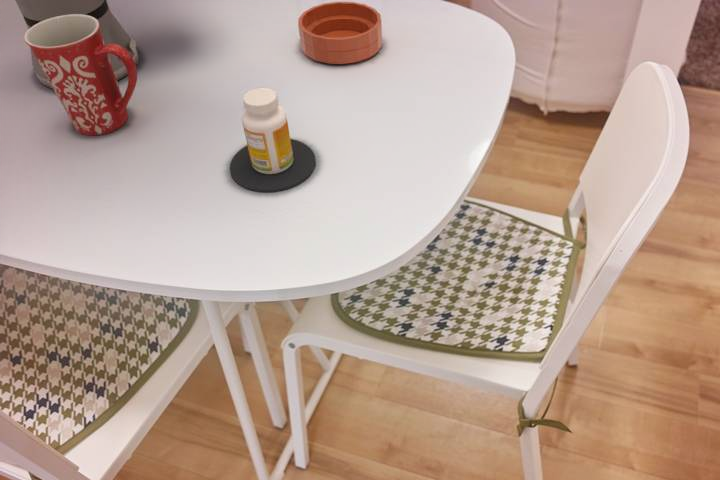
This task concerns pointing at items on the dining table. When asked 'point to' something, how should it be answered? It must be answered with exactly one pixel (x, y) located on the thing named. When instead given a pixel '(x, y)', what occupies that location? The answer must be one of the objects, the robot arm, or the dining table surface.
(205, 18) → the dining table surface
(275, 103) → the supplement bottle
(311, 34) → the bowl
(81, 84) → the mug
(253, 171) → the coaster
